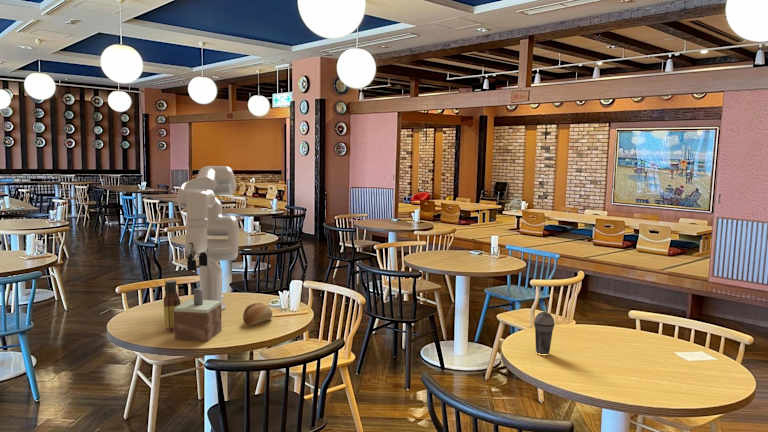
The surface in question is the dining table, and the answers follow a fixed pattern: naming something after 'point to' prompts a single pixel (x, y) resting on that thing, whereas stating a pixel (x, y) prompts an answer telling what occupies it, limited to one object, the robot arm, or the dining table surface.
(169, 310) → the sauce bottle
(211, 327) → the box
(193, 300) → the lid
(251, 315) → the bread roll
